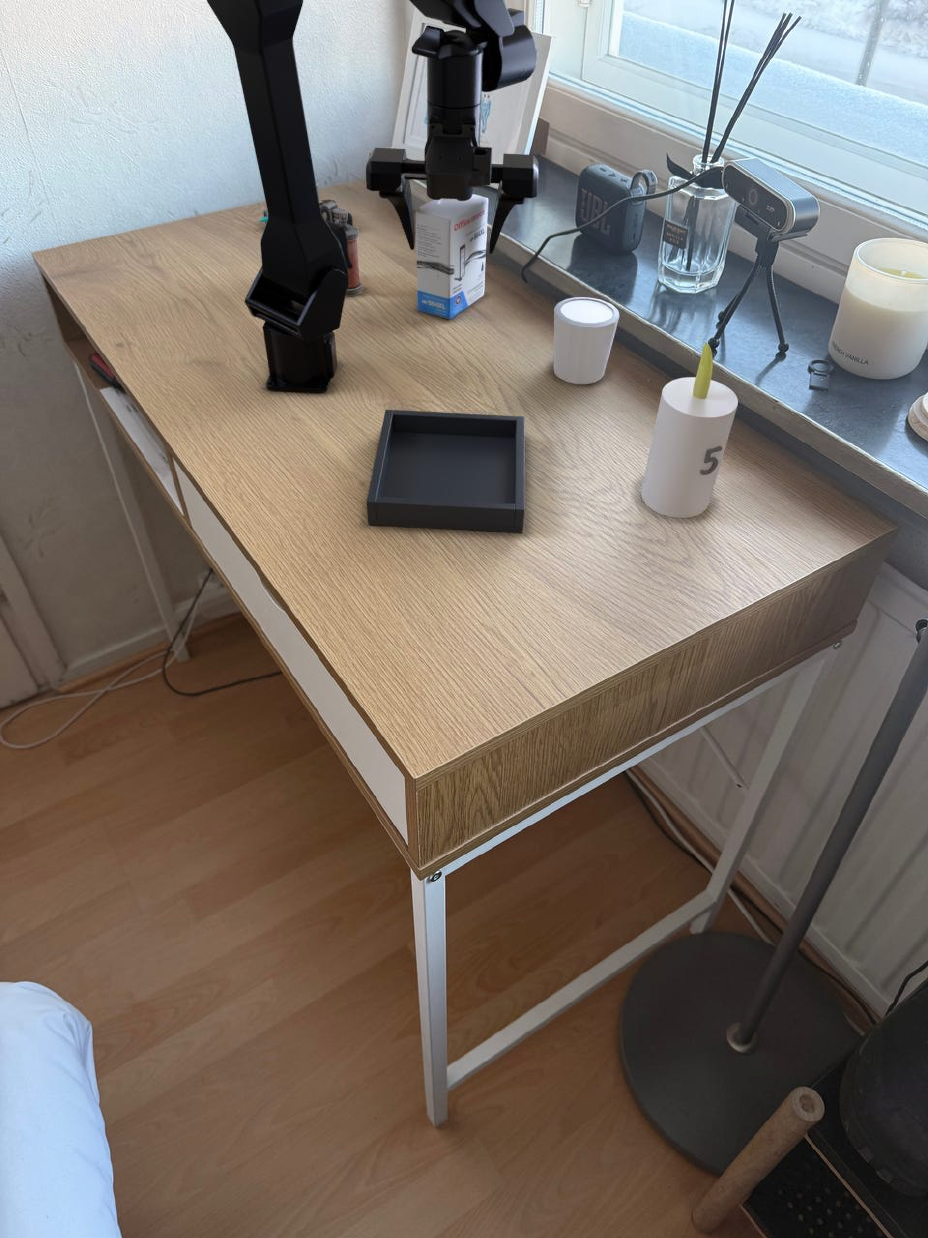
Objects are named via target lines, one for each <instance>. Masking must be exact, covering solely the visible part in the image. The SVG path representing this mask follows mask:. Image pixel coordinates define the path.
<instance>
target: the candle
mask: <svg viewBox="0 0 928 1238" xmlns="http://www.w3.org/2000/svg"><path fill="white" fill-rule="evenodd" d="M713 367H714V360H713V351H712V348H711V346H710V344H709V343H708V342H705V343H704V344H703V347H702V351H701V355H700V360H699V364H698V367H697V371H696V375H695V376H693V377H692V376H691V377H690V376H689V377H688V376H687V377H680V378H676V379H672V380H670V381H669V382H668V383H666V384H665V385H664V387H662V391H661V395H660V401H659V405H658V409H657V415H656V419H655V424H654V428H653V432H652V433H653V435H652V436H651V437H652V438H651V442H650V447H649V452H648V456H647V461H646V466H645V470H644V475H643V479H642V484H641V487H640V488H641V490H640V496H641V499H642V501H643V503H644V504H645V505H646V506H647V507H648V508H649V509H650V510H652V511H654V512H656V513H658V514H659V515H661V516H665V517H668V518H669V517H670V518H676V519H688V518H694V517H697V516H700V515H702V514H703V513H704V512H705V511H707V509H708V507H709V505H710V503H711V498H712V495H713V492H714V488H715V485H716V481H717V478H718V475H719V471H720V467H721V465H722V461H723V457H724V454H725V450H726V447H727V444H728V440H729V436H730V433H731V430H732V426H733V422H734V419H735V416H736V412H737V409H738V405H739V399H738V397H737V395H736V393H735V392H734V391H733V390H732V389H731V388H730V387H728V386H727V385H725V384H723V383H720V382H719V381H717V380H716V381H715V380H713V379H712V377H713V376H712V375H713Z"/></svg>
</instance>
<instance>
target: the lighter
mask: <svg viewBox="0 0 928 1238" xmlns="http://www.w3.org/2000/svg"><path fill="white" fill-rule="evenodd" d="M333 201H334V200H333ZM333 201H331V202H329V203H327V204H325V203H322V200H319V206H320V210H321V213H322V215H323V217H324V218H325V220H327V221H329V222H332V223H334V224H337V225H339V226H342V227H344V229H345V231H346V234H347V248H348V256H349V260H350V262H351V264H352V265H353V268H352V269H349V268H348V272H349V285H348V289H347V290H346V295H345V297H356V296H359V295H360V294H362V283H361V282H360V270H359V269H360V267H359V266H360V265H359V251H358V250H359V249H358V238H359V228H357V227H355V226H351V225H349V224H347V220H348V213H349V212H348V209H345V208H342V207H339V205H338V204H337V202H336V201H335V202H336V203H335V202H333ZM347 212H348V213H347Z"/></svg>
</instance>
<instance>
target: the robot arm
mask: <svg viewBox="0 0 928 1238" xmlns="http://www.w3.org/2000/svg"><path fill="white" fill-rule="evenodd" d="M408 1H409V2H410V3H411V4H412V5H413V6H414V7H415V8H416V9H417V10H418V11H419V13H421V15H423V16H424V17H425V18H428V19H431V20H435V21H440V22H441V23H443V24H444V25H448V26H452V27H456V28H461V29H465V31H463V30H459V29H451V30H445V29H443V28H441V27H437V26H433V25H428V24H427V25H426V26H425V28H424V30H423V32H422V34H421V35H420V36H419V37H418V38H417V39H416V40H415V41H414V43H413V44H412V46H411V49H410V50H411V53H412V54H413V55H417V56H420V57H424V58H426V142H425V146H424V152H423V153H424V160H418V159H417V160H416V159H407V150H406V148H394V147H374V149H373V150H372V151H371V152H370V154H369V157H368V159H367V163H366V164H365V165H366V166H365V185H366V190H368V191H371V192H378V196H379V198H380V199H384V200H385V199H387V200H388V201H389V202H390V204H391V205H392V206H393V208H394V210H395V212H396V214H397V216H398V219H399V221H400V223H401V227H402V230H403V232H404V235H405V238H406V240H407V244H408V247H409V249H410V251H414V250H415V248H416V227H415V220H414V209H413V200H412V191H411V189H412V188H411V181H412V180H414V181H425V183H426V185H425V186H426V195H427V197H428V199H431V200H440V199H457V200H458V201H467V200H469V199H470V198H471V197H472V194H473V190H474V188H482V187H483V186H488V187H490V186H491V185H492V184H498V186H497V192H496V198H495V205H494V210H493V216H492V220H491V221H492V222H491V227H490V233H489V246H488V254H489V255H490V254H491V255H492V254H493V253H494V250H495V248H496V245H497V243H498V239H499V237H500V234H501V232H502V229H503V227H504V224H505V222H506V220H507V219H508V216H509V214H510V213H511V211H512V210H513V208H514V207H515V206H516V205H518V206H521V205H524V204H525V199H534V198H537V196H538V187H539V160H538V159H537V157H536V156H535V155H534V154H524V153H522V154H521V153H502V154H503V157H502V163H493V147H490V146H489V147H488V146H481V128H482V127H481V125H482V98H483V97H482V96H483V93H491V92H494V91H497V90H501V89H504V88H507V87H511V86H515V85H517V84H520V83H523V82H526V81H527V80H528V79H529V78H530V77H531V76H532V75H533V73H534V72H535V69H536V66H537V63H538V57H539V56H538V55H539V54H538V53H539V52H538V49H537V46H536V42H535V38H534V36H533V34H532V32H531V30H530V29H529V27H528V26H526V24H525V16H526V12H525V11H524V10H520V9H516V8H511V7H509V8H508V7H507V5H506V2H505V0H408ZM206 3H207V4H208V6H209V7H210V9H211V10H212V12H213V14H214V16H215V17H216V19H217V20H218V22H219V24H220V25H221V27H222V29H223V30H224V32H225V34H226V35H227V36H228V38H229V40H230V42H231V45H232V48H233V51H234V52H233V53H234V56H235V61H236V66H237V71H238V76H239V81H240V85H241V91H242V94H243V99H244V104H245V109H246V114H247V119H248V123H249V128H250V129H249V130H250V132H251V137H252V143H253V147H254V148H253V149H254V153H255V157H256V163H257V166H258V173H259V176H260V177H259V178H260V180H261V185H262V190H263V195H264V200H265V205H266V210H268V219H267V222H266V225H265V224H264V226H265V227H264V229H263V231H262V235H261V237H260V245H259V246H260V257H261V266H260V268H259V270H258V272H257V274H256V276H255V278H254V280H253V282H252V284H251V286H250V288H249V290H248V292H247V294H246V296H245V297H244V304H245V306H246V307H247V309H248V311H249V313H250V315H251V316H252V317H253V318H258V319H259V320H262V321H264V323H263V325H262V334H263V341H264V347H265V354H266V361H267V368H268V373H269V375H268V377H267V380H266V383H265V386H266V387H265V388H266V389H267V390H268V391H269V390H270V391H286V392H287V391H288V392H309V393H327V392H328V391H329V388H330V385H331V381H332V380H333V379H334V378H335V376H336V372H337V370H338V356H337V344H336V334H335V330H338V329H340V327H341V322H342V317H343V316H342V315H343V311H344V305H345V300H346V296H345V295H346V290H347V289H348V285H349V272H348V268H349V269H352V268H353V265H352V264H351V262H350V260H349V256H348V248H347V234H346V231H345V229H344V227H342V226H339V225H337V224H334V223H332V222H329V221H327V220H325V218H324V217H323V215H322V213H321V210H320V206H319V201H320V199H319V200H318V193H319V192H318V193H317V187H318V186H317V182H316V176H315V170H314V164H313V157H312V150H311V146H310V145H311V144H310V138H309V132H308V127H307V126H308V125H307V121H306V115H305V109H304V108H305V107H304V101H303V96H302V90H301V82H300V78H299V71H298V65H297V58H296V53H295V47H294V35H295V32H296V28H297V24H298V22H299V18H300V15H301V11H302V8H303V6H304V5H303V4H304V0H206ZM316 186H317V187H316Z"/></svg>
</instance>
